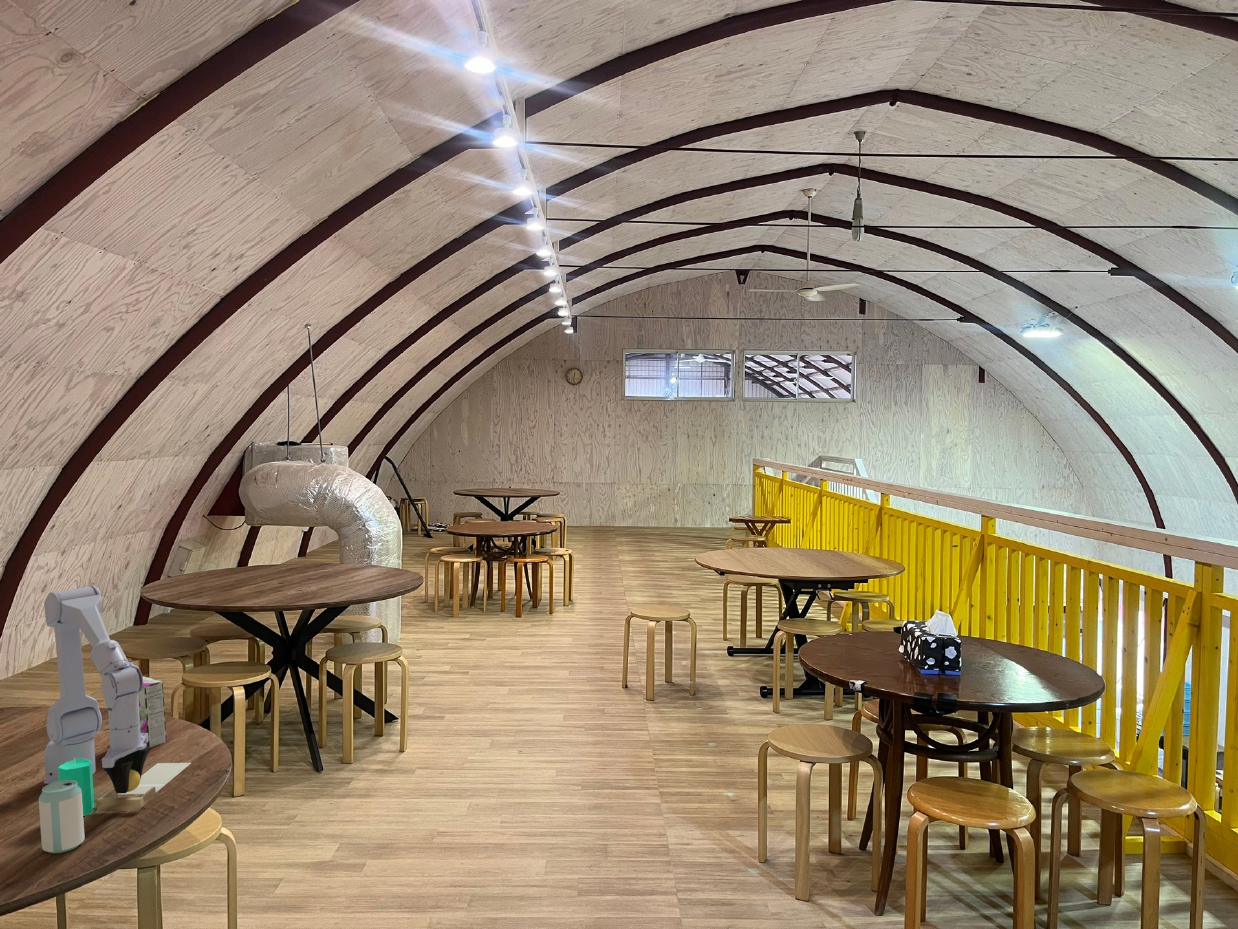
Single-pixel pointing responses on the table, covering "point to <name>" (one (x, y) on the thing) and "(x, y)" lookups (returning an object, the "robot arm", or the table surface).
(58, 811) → the can
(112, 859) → the table surface
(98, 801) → the rail
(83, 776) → the candle
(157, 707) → the candy bar box
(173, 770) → the lane
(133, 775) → the ball
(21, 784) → the table surface
